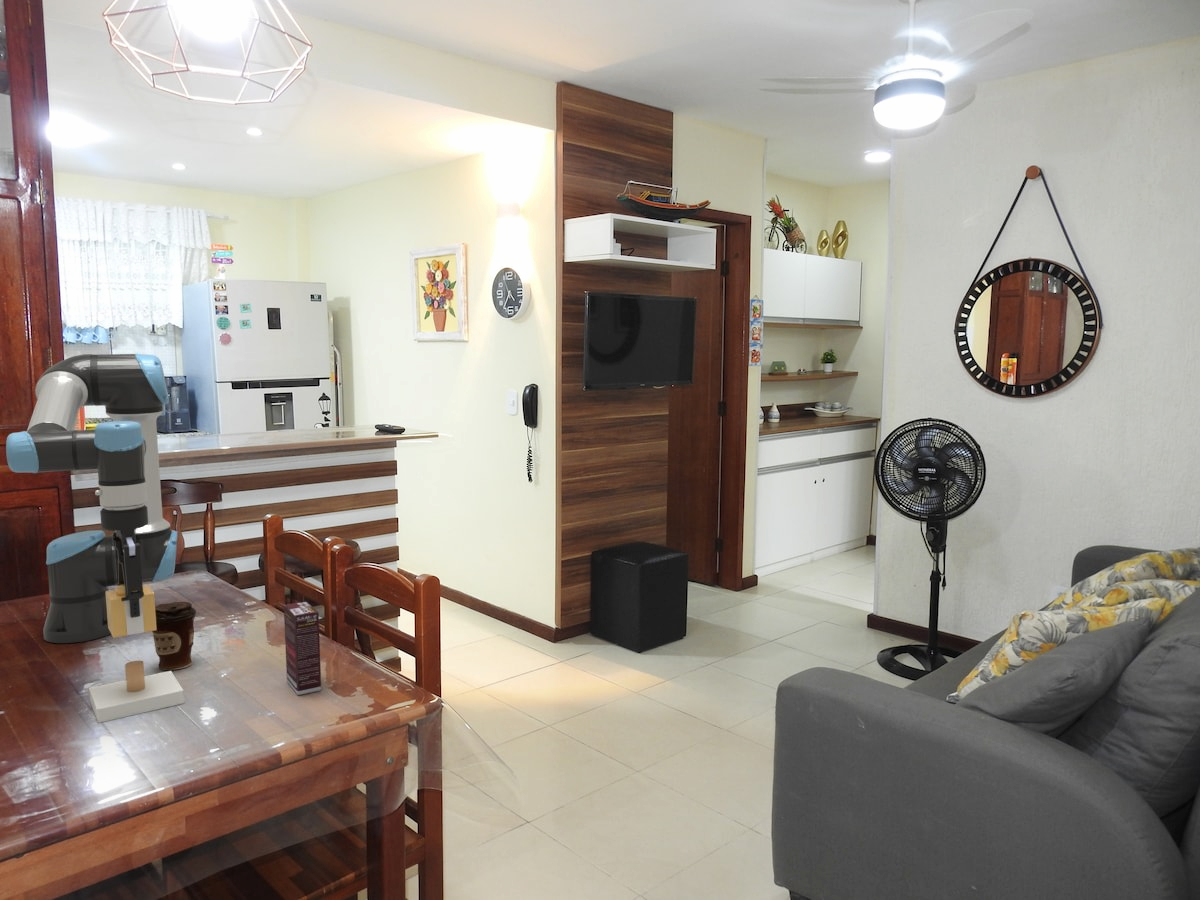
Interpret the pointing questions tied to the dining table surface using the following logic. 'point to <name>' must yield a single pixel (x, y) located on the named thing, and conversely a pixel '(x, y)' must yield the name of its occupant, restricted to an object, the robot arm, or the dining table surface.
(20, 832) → the dining table surface
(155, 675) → the white rectangular block
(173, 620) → the coffee cup
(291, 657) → the supplement box
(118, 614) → the cube with hemisphere knob
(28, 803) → the dining table surface
